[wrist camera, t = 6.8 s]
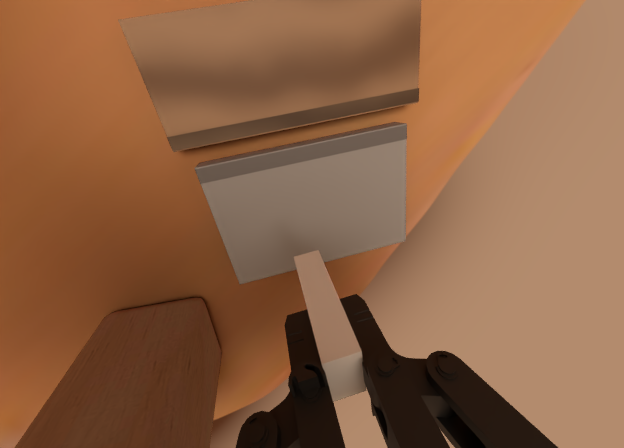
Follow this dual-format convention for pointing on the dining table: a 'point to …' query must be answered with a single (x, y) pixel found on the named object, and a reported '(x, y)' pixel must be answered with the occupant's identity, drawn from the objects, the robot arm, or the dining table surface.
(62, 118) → the dining table surface
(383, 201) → the plank
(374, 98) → the board
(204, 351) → the wooden block
